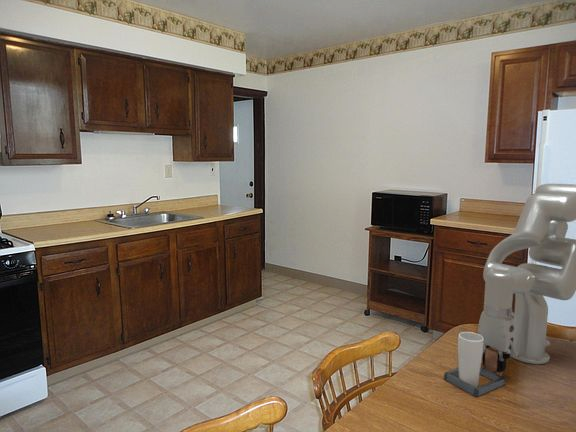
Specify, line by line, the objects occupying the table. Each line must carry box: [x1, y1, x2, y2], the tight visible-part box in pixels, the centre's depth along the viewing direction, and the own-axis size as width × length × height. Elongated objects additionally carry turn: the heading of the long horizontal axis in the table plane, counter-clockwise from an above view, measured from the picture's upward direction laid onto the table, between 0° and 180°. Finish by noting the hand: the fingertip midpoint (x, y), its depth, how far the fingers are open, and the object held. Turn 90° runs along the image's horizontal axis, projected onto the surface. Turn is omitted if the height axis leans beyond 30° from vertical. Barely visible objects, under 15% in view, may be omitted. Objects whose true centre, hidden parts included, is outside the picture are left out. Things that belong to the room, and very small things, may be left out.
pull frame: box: [443, 347, 506, 397], centre depth 123 cm, size 17×11×8 cm, turn 119°
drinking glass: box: [457, 331, 484, 387], centre depth 120 cm, size 7×7×15 cm
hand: (493, 367), depth 127 cm, fingers closed on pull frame, 4 cm apart
